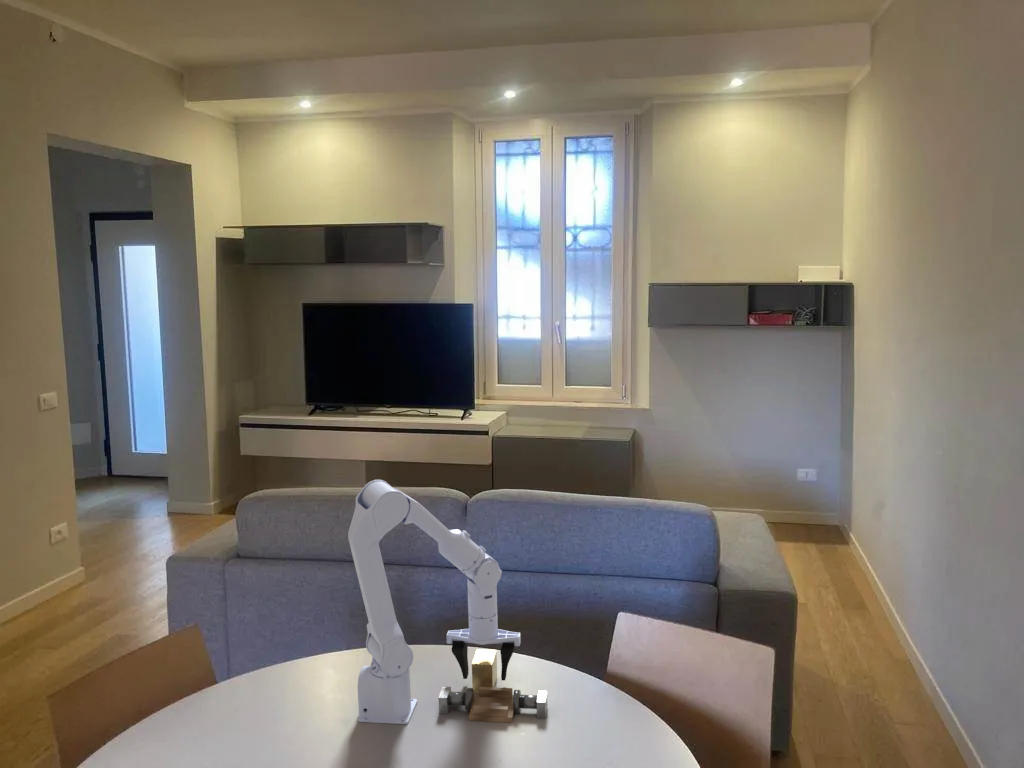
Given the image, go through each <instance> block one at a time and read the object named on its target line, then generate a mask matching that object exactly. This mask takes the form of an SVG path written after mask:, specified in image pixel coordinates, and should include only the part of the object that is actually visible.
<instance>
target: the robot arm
mask: <svg viewBox="0 0 1024 768" xmlns="http://www.w3.org/2000/svg"><path fill="white" fill-rule="evenodd" d="M400 523H402V524H404V525H410V524H414V525H415V526H417V527H418V528H420V529H421V531H423V532H424V533H426V535H428V536H430V537H431V538H432V539H433V540H434V541H436V542H437V544H438V545H437V546H438V547H437V548H438V553H439V554H440V555H441V556H442V557H443V558H445V559H446V560H447V561H449V562H450V563H451V564H452V565H453V566H454V567H456V568H457V569H458V570H459V571H460V572H462V574H463V575H465V576H466V577H468V578H466V579H467V580H466V581H467V582H466V583H467V608H468V609H467V611H468V612H467V614H468V628H463V629H453V630H448V631H447V633H446V644H447V645H449V644H450V645H451V653H452V655H454V657H455V659H456V661H457V663H458V664H459V667H460V670H461V675H462V679H463V680H466V679H468V676H469V659H468V651H469V650H468V644H476V645H491V644H492V645H493V644H495V645H501V648H500V660H501V661H500V663H501V676H500V677H501V679H500V680H501V681H506V678H507V672H508V671H507V670H508V665H509V663H510V661H511V658H512V656H513V653H514V650H515V647H520V645H521V643H522V642H521V641H522V639H521V637H522V636H521V632H518V631H517V632H516V631H509V630H505V629H501V628H500V629H499V628H498V625H499V624H498V622H499V621H498V589H497V587H498V586H497V585H498V582H499V581H500V580H501V578H502V573H503V570H502V569H501V568H500V564H499V562H498V561H497V560H496V559H494V558H493V557H492V556H490V555H489V554H488V553H487V552H486V551H487V550H486V548H485V547H484V546H482V545H478V544H477V543H476V542H474V541H473V540H472V539H471V538H470V537H471V534H470V533H469V532H467V531H466V530H465V529H463V530H460V529H459V528H455V529H448V527H446V526H445V525H444V524H443V523H442V522H441V521H440V520H438V518H436V516H434V515H433V514H432V513H431V512H430V511H429V510H428V509H427V508H425V507H424V506H423V505H422V504H421V503H420V502H419V501H416V499H414V498H412V497H411V496H409V495H408V494H406V493H404V492H403V491H401V490H399V489H398V488H396V487H392V485H391V484H390V483H388V482H387V481H385V480H383V479H374V480H371V481H369V482H367V483H366V484H365V485H364V486H363V488H362V489H361V490H360V491H359V493H358V494H357V495H356V496H355V508H354V512H353V515H352V519H351V522H350V526H349V528H348V532H347V539H348V543H349V546H350V551H351V556H352V560H353V563H354V564H353V565H354V567H355V572H356V576H357V580H358V584H359V588H360V592H361V593H360V594H361V595H362V601H363V604H364V607H365V613H366V616H367V621H368V623H367V624H366V630H367V636H366V641H365V646H366V650H367V652H368V653H369V655H371V656H372V658H371V663H370V665H363V666H362V667H361V668H360V671H359V675H358V679H357V700H358V719H357V721H358V722H359V723H374V724H392V725H393V724H394V725H408V724H409V723H410V719H411V718H412V715H413V713H414V711H415V708H416V706H417V704H418V699H416V698H412V696H411V695H412V693H411V671H410V668H411V666H412V664H413V661H414V653H413V650H412V648H411V647H410V645H408V644H407V642H406V640H405V637H404V633H403V631H402V629H401V626H400V625H399V623H398V620H397V616H396V613H395V612H396V611H395V606H394V604H393V600H392V599H393V598H392V595H391V591H390V587H389V583H388V577H387V574H386V570H385V565H384V560H383V556H382V553H381V548H380V541H382V539H383V537H384V536H385V535H387V534H388V533H389V532H390V531H392V529H394V528H395V527H396V526H398V525H399V524H400Z"/></svg>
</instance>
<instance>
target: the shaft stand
mask: <svg viewBox="0 0 1024 768" xmlns="http://www.w3.org/2000/svg"><path fill="white" fill-rule="evenodd" d="M537 691H538V693H537V694H522V693H521V692H522V691H521V690H520V689H514V690H513V687H498V686H497V687H479V693H475V692H474V689H473V687H467V688H466V690H465V691H452V686H442V688H441V690H440V693H439V695H438V714H439V715H448V713H449V711H450V708H451V706H458V707H459V706H461V707H464V709H465V711H467V712H468V711H469V714H468V721H470V722H471V721H472V722H491V723H492V722H493V723H496V722H497V723H511V724H512V723H513V720H514V716H515V715H514V714H519V713H521V709H526V710H527V709H528V710H536V719H545V720H546V718H547V711H548V690H537Z"/></svg>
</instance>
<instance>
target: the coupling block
mask: <svg viewBox="0 0 1024 768" xmlns="http://www.w3.org/2000/svg"><path fill="white" fill-rule="evenodd" d="M474 653H475V654H474V657H473V659H472V662H471V682H472V683H471V684H472V685H471V686H472V687H471V688H473V689H474V693H475V694H479V687H495V686H496V683H497V680H498V665H497V664H498V662H497V661H498V659H497V649H479V648H476V650H475V652H474Z"/></svg>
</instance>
